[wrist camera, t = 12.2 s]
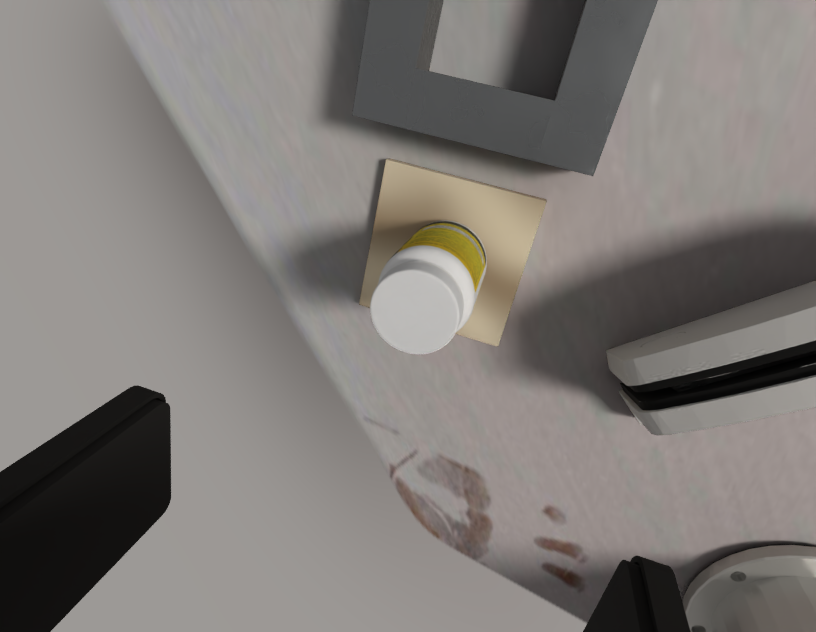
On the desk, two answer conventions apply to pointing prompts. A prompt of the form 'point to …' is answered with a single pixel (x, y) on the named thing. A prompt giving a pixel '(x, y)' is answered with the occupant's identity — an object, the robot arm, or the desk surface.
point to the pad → (471, 206)
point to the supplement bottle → (429, 287)
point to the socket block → (496, 107)
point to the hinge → (724, 366)
